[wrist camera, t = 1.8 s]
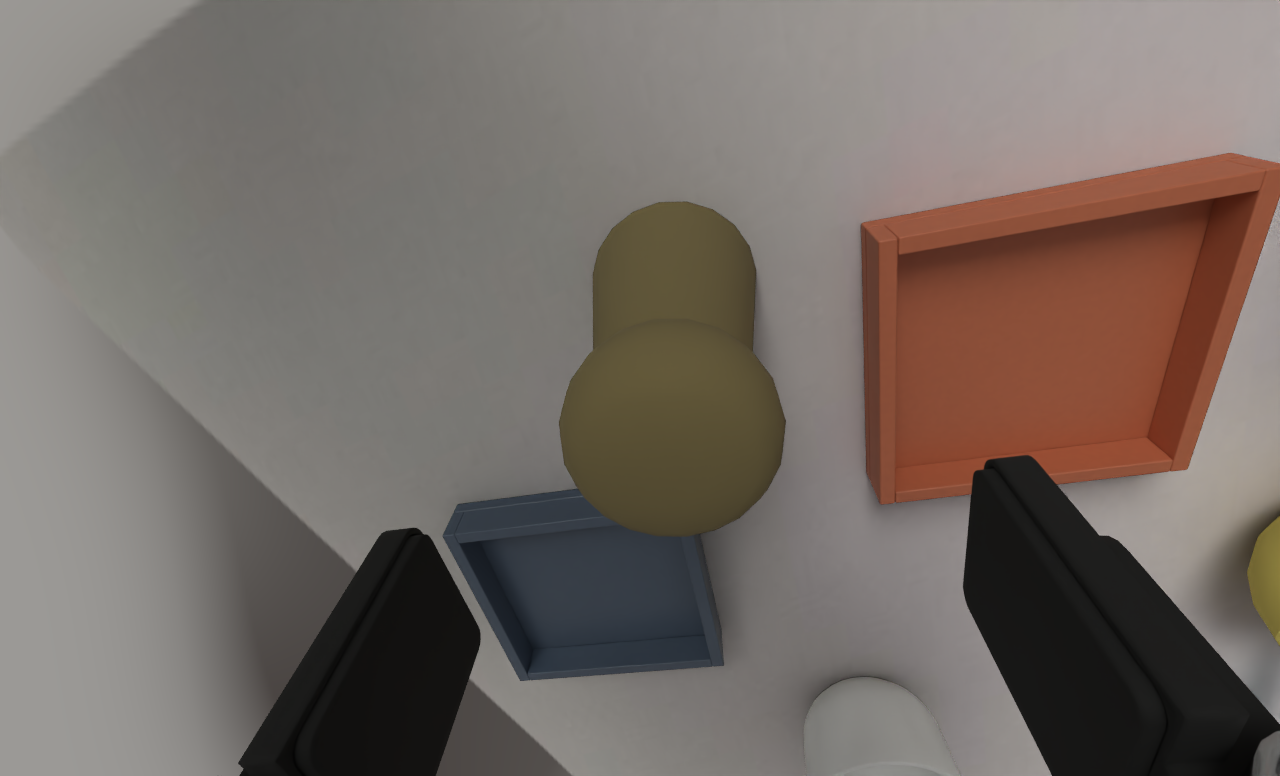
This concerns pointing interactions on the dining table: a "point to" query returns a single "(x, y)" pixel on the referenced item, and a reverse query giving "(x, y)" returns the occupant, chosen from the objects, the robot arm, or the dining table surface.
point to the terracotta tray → (1057, 324)
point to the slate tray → (584, 588)
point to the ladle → (1267, 577)
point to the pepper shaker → (673, 378)
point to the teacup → (873, 733)
